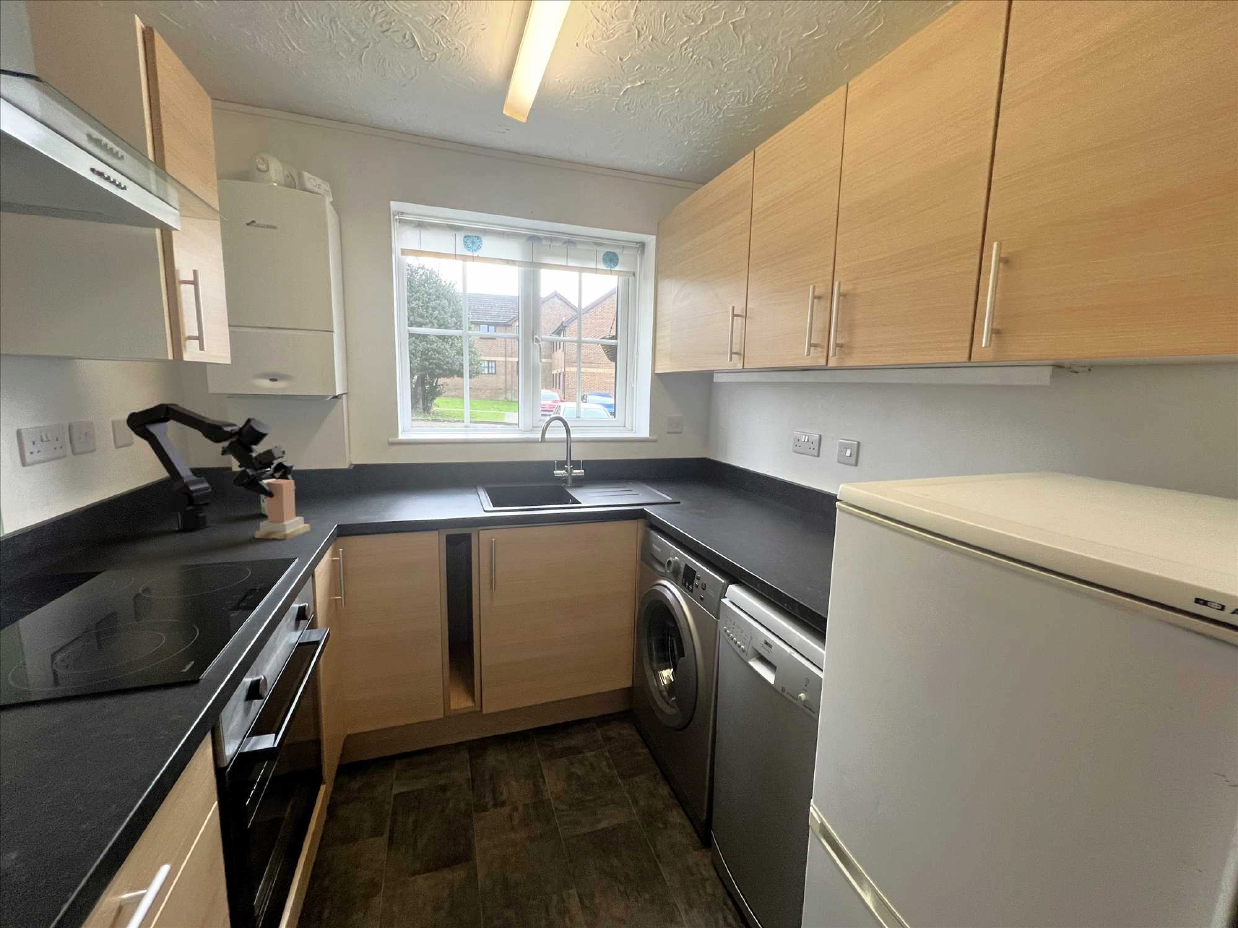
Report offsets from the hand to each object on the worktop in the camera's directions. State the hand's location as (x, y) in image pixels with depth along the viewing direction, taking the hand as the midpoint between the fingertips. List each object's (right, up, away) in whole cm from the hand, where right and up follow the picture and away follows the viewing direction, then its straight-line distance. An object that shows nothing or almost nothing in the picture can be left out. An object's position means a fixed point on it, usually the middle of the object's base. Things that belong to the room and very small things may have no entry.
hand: (284, 493), depth 155 cm
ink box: (-19, -9, +24) cm, 32 cm away
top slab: (-2, -11, +2) cm, 11 cm away
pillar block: (-2, -8, +1) cm, 8 cm away
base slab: (-2, -13, +2) cm, 13 cm away
